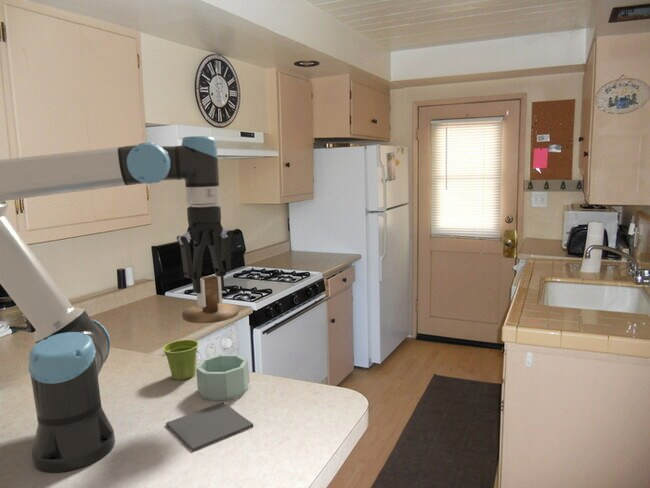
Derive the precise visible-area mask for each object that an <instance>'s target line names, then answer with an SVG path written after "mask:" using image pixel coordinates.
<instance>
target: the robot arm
mask: <svg viewBox="0 0 650 488" xmlns="http://www.w3.org/2000/svg"><path fill="white" fill-rule="evenodd" d="M181 141H182V142H181V145H175V146H169V145H163V146H162V145H159V144H157V143H153V142H143V143H139V144H135V145H134V144H133V145H126V146H117V147H107V148H106V147H105V148H98V149H97V148H96V149H87V150H77V151H70V152H69V151H68V152H61V153H60V152H59V153H50V154H42V155H32V156H23V157H14V158H13V157H12V158H4V159H0V285H1V287H2V288H3V289H4V290H5V292H6V293H7V295H8V296H9V297H10V299H11V300H12V301H13V302H14V303H15V305H16V306H17V307H18V308H19V310H20V311H21V312H22V313H23V315H24V316H25V318H26V319H27V320H28V322H29V323H30V324H31V326H32V327H33V328H34V330H35V334H34V338H33V341H34V342H35V344H34V345H33V346H32V348H31V349H30V351H29V354H28V372H29V375H30V379H31V386H32V392H33V400H34V403H35V404H34V405H35V413H36V417H37V428H36V430H35V435H34V441H33V445H32V449H31V450H32V451H31V456H32V457H31V458H32V463H33V466H34V467H35V469H37V470H39V471H42V472H46V473H62V472H68V471H73V470H77V469H80V468H83V467H86V466H89V465H91V464H93V463H96V462H97V461H99V460H101V459H102V458H103V457H105V456H106V455H108V453H110V451H112V450H113V448H114V446H115V443H116V437H115V431H114V428H113V426H112V423H111V422H110V420H109V418H108V416H107V415H106V413H105V411H104V409H103V407H102V400H101V391H100V384H99V383H100V382H99V374H100V373H101V370H102V368H103V365H104V364H105V363H106V362H107V359H108V357H109V354H110V349H111V339H110V334H109V332H108V330H107V329H106V328H105V326H104V325H103V324H101V322H99V321H98V320H96V319H91V317H90V315H89V314H88V312H87V311H86V310H85V309H84V308H82V307H76V306H73V305H72V304H71V302H70V301H69V299H68V298H67V297H66V295H65V294H64V293H63V291H62V290H61V288H60V287H59V285H58V284H57V283H56V281H55V279H53V278H52V276H51V275H50V274H49V272H48V271H47V270H46V268H45V267H44V266H43V264H42V263H41V261H40V260H39V259H38V258H37V256H36V255H35V253H34V252H33V251H32V249H31V248H30V246H29V245H28V244H27V242H26V241H25V240H24V238H23V237H22V235H20V233H19V232H18V229H16V227H15V226H14V224H13V223H12V222H11V221H10V219H9V218H8V216H7V215H6V214H7V210H8V204H7V202H6V201H14V200H15V201H16V200H21V199H22V200H23V199H29V198H38V197H44V196H45V197H47V196H53V195H54V196H56V195H61V194H68V193H70V194H71V193H75V192H84V191H85V192H86V191H94V190H100V189H109V188H116V187H124V186H134V185H143V184H147V185H148V184H156V183H157V184H158V183H160V182H161V181H176V180H177V181H181V180H184V182H185V184H184V185H185V200H186V205H188V206H187V208H186V215H187V224H188V227H187V229H186V232H184V233H183V234H182V235H177V237H176V240H177V242H178V244H179V248H180V254H181V260H182V261H181V263H182V269H183V271H182V272H183V276H184V277H185V278H188V279H191V280H192V290H193V292H194V293H195V294H196V301H197V305H198V306H201V307H206V298H205V282H204V279H201V277H202V272H203V271H202V270H203V262H204V251H205V249H206V246H207V247H208V249H209V252H210V253H209V254H210V256H211V262H212V265H213V270H214V273H215V274H212V275H211V276H215V277H216V281H217V297H218V303H219V304H221V303H223V295H222V294H223V293H222V289H224V288H225V276H226V274H227V273H228V272H231V271H232V270H231V269H232V255H231V254H232V247H231V245H232V238H233V234H234V232H233V231H232V230H229V229H225V228H224V227H223V226H222V224H221V222H222V221H221V220H222V211H221V205H219V204H220V203H221V195H220V175H219V157H218V148H217V141H216V139H215V138H214V137H212V136H209V135H208V136H205V135H204V136H203V135H199V136H197V135H194V136H183V138H182V140H181ZM220 237H221V238H220ZM219 238H220V239H221V240H220V243H219ZM190 239H191V240H192V241H193V244H192V245H193V246H192V248H193V254H192V250H191V245H190V242H191V240H190ZM220 247H221V249H220ZM192 255H193V257H192Z"/></svg>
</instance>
